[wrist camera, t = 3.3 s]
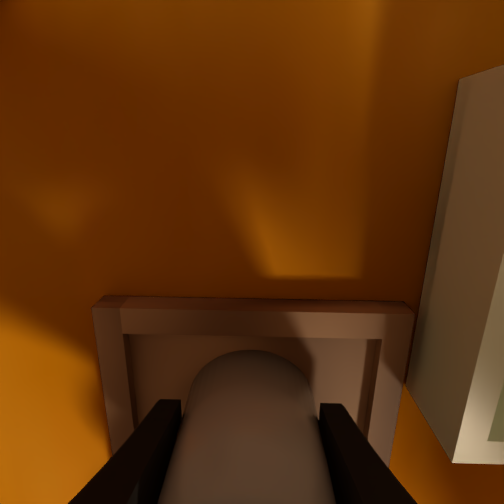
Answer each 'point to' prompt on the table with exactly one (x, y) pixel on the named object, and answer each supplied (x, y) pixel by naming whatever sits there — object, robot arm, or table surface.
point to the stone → (249, 436)
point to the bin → (466, 284)
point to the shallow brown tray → (254, 338)
